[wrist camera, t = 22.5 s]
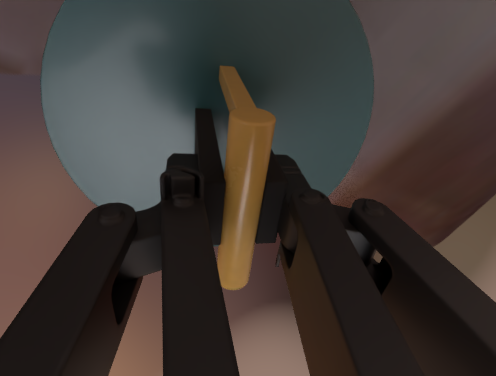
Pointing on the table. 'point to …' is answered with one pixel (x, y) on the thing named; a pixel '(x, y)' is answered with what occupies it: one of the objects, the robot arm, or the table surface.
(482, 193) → the table surface
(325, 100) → the tin lid
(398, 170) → the table surface
